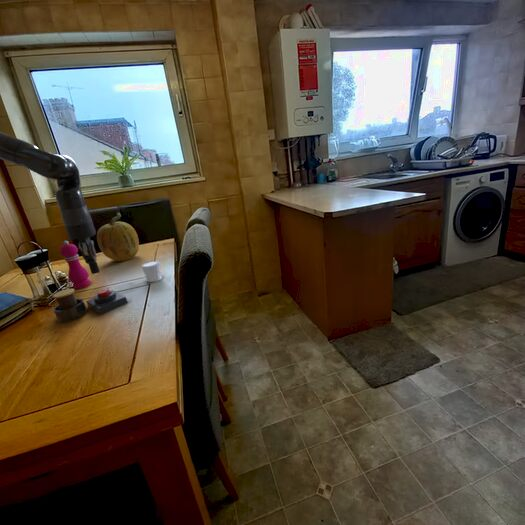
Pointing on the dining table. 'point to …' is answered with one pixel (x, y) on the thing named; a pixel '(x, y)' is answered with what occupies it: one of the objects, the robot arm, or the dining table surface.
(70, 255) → the pepper mill
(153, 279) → the white short cylinder
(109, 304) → the panel
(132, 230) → the pumpkin
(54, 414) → the dining table surface
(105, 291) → the brew button
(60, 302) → the coffee pod
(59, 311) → the pod holder
